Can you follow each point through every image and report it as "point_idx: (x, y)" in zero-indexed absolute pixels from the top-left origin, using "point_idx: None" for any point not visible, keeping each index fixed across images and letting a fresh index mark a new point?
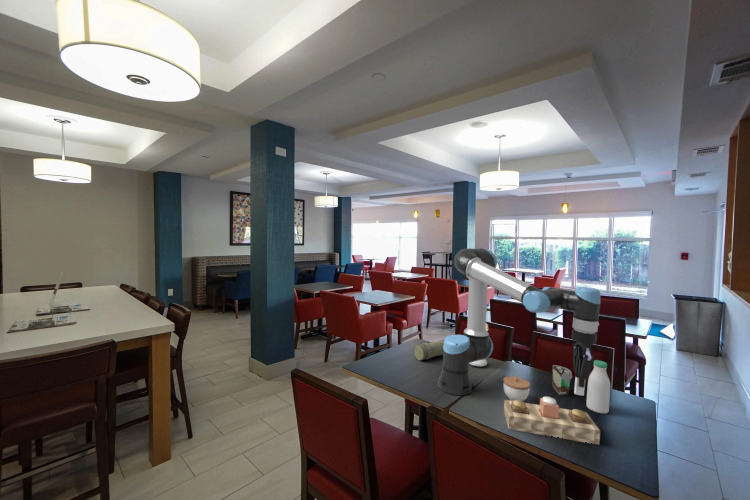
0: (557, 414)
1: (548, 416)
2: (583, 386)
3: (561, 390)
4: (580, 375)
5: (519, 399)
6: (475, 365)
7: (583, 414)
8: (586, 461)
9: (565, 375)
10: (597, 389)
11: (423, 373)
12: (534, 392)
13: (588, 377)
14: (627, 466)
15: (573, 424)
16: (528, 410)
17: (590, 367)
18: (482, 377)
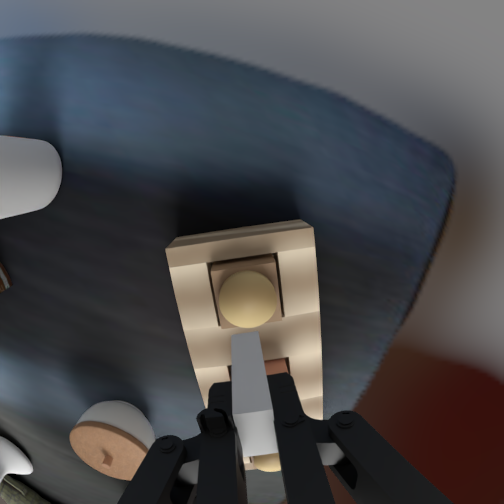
0: (287, 372)
1: None
2: (291, 380)
3: (1, 287)
4: (346, 466)
5: (149, 423)
6: (29, 461)
7: (261, 288)
8: (398, 275)
9: None
10: (5, 188)
11: None
12: (44, 359)
13: (364, 423)
14: (382, 168)
15: (305, 316)
16: None
17: (441, 496)
18: (65, 458)
